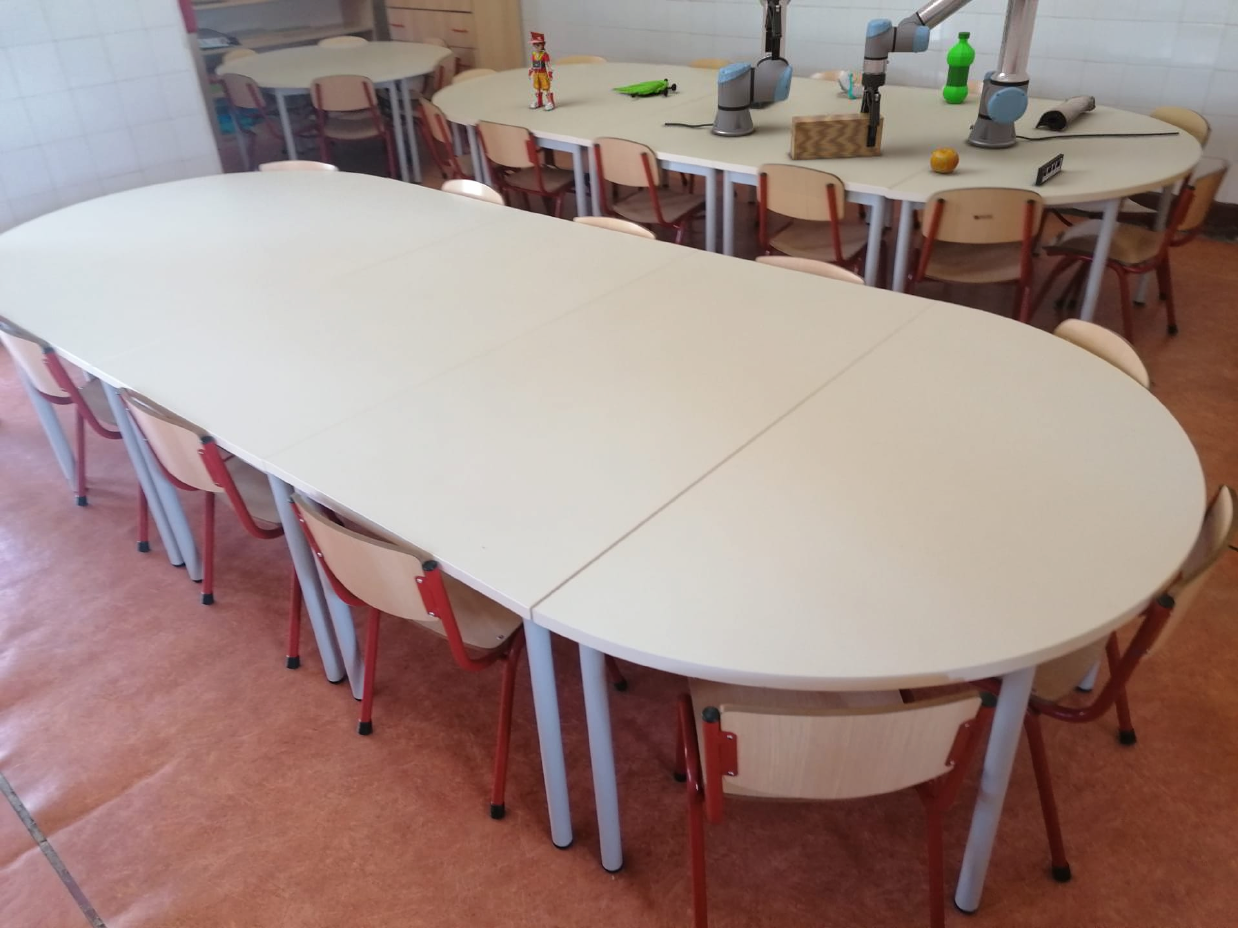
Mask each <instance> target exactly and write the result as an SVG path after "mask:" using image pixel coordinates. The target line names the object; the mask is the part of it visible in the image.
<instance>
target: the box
mask: <svg viewBox="0 0 1238 928" xmlns="http://www.w3.org/2000/svg"><path fill="white" fill-rule="evenodd" d="M884 121H885V117H884V116H883V115H882V114H881V113H880V122H879V123H880V125H879V126H878V127H877V134H876V143H875V147H866V146H867V136H868V127H867V126H868V125H870V120H869V113H860V112H857V113H855V112H854V113H836V114H818V115H817V114H815V115H798V116H792V117H791V128H790V129H791V131H790V145H789V147H790V148H789V154H790V156H791V158H792V160H794V161H797V160H816V159H833V158H834V159H835V158H856V157H874V156H875V157H876V156H880V155H881V148H882V147H881V146H882V139H883V129H884V128H883V127H884ZM874 123H875V122H874Z"/></svg>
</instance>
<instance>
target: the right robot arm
mask: <svg viewBox="0 0 1238 928" xmlns="http://www.w3.org/2000/svg"><path fill="white" fill-rule="evenodd" d="M972 1H973V0H930V1H929V2H927V3H926V4H924V5H923V6H922V7H921V8H919V9H918V10H917V11H916V12H914V13H912V14H911V15H909V16H908V17H905V18H903V19H901V21H900V22H899V23H898V24H897V26H893V21H892V20H891V19H889V18H888V19H887V18H876V19H874V18H873V19H871V20H870V21H869V22H868V23H867V27H866V33H865V41H864V42H865V43H864V53H863V54H864V55H863V60H862V61H863V62H862V72H863V73H862V74H861V84H862V85H863V92H864V93H863V96H862V100H861V106H860V111H859V113H869V120H870V125H868V126H867V127H868V136H867V146H866V147H875V143H876V134H877V127H878V126H879V125H880V123H879V122H880V114H881V97H882V93H880V91H879V88H880V87H884V86H885V84H886V79H887V73H886V71H887V67H888V64H889V63H890V61H889V53H891V54H893V53H915V54H917V53H925V52H926V51H928V49H929V45H930V40H931V39H930V36H931V30H933V29H934V28H936V27H937V26H938V25H940V24H942V23H943V22H944V21H945V20H946V19H948V18H949V17H951V16H952V15H954V14H955V13H956V12H958V11H959V10H960V9H962V8H963V7H965V6H966V5H968V4H969V3H970V2H972ZM1038 7H1039V0H1007V4H1006V12H1005V17H1004V18H1005V19H1004V24H1003V30H1002V36H1001V41H1000V49H999V54H998V61H997V67H996V70H989V71H987V72H986V73H985V74H984V76H983V77H984V78H983V80H982V83H983V84H982V89H981V94H980V100H979V107H978V114H977V118H976V120H975V123H974V124H972V125H970V126H969V127H970V128H969V131H970V130H971V131H970V132H969V134H968V138H967V142H968V144H970V145H972V146H974V147H977V148H983V149H1006V148H1009V147H1010V148H1011V147H1012V146H1015V144H1016V141H1017V139H1023V140H1026V141H1027V140H1028V141H1042V140H1050V139H1061V138H1063V139H1064V138H1081V137H1083V138H1084V137H1146V136H1149V137H1150V136H1152V137H1153V136H1174V135H1180V132H1154V133H1151V132H1150V133H1091V134H1090V133H1085V134H1063V135H1051V136H1043V137H1028V136H1024V135H1023V136H1021V135H1017V133H1016V126H1015V125H1016V124H1015V122H1017V121H1018V120H1019V119H1021V118H1022V117H1023V116H1024V115H1025V113H1026V111H1027V108H1028V105H1029V98H1028V90H1029V84H1030V80H1031V76H1030V74H1028V73H1027V67H1028V62H1029V56H1030V51H1031V45H1032V40H1033V39H1032V38H1033V35H1034V28H1035V24H1036V17H1037V11H1038ZM861 84H860V85H861ZM874 122H875V123H874Z"/></svg>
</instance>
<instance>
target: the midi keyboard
mask: <svg viewBox="0 0 1238 928" xmlns="http://www.w3.org/2000/svg"><path fill="white" fill-rule="evenodd" d="M1064 157H1065V153H1059V154H1058V155H1056V156H1055V157H1052V159H1051V160H1049V161H1047V162H1045V164H1042V165H1041V166H1039V167H1038V169H1037V175H1036V179H1035V186H1040V185H1042V183H1044V182H1045V181H1047V180H1048V179H1049V178H1051V177H1052V176H1054V175H1055V174H1056V173H1058V172H1060V171H1061V170H1062V165H1063V161H1064Z"/></svg>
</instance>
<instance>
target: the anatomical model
mask: <svg viewBox="0 0 1238 928" xmlns="http://www.w3.org/2000/svg"><path fill="white" fill-rule="evenodd" d="M857 80H858V78H854V74H853V72H851V71H850V70H845V73H844V74H843V75H840V76H838V77H837V82H838V84H839V86H840V89H841V91H843V92H847V94H848V96H849V98H851V99H857V98H859V97H863V93H864V90H863V89H864V86H863V85H862V84H859V85H858V86H857V85H855V83H856V81H857Z"/></svg>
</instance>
